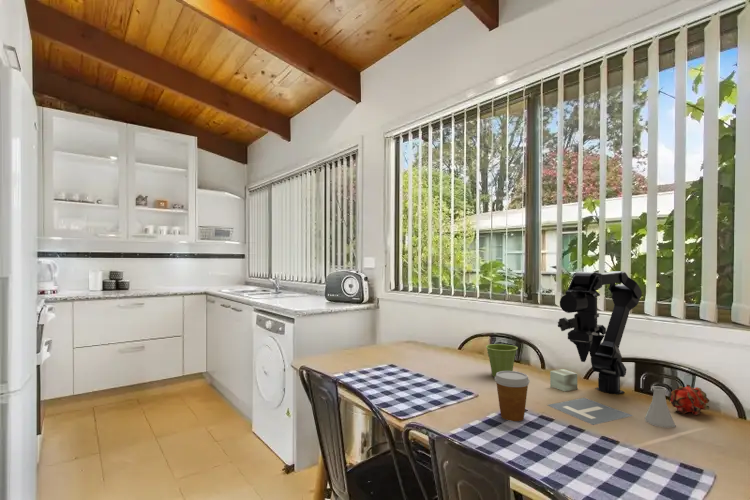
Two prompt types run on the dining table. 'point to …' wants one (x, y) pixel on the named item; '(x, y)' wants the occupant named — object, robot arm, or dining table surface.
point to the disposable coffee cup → (512, 394)
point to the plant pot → (501, 357)
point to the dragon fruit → (689, 399)
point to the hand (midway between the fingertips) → (587, 359)
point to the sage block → (563, 380)
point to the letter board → (589, 411)
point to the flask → (659, 410)
